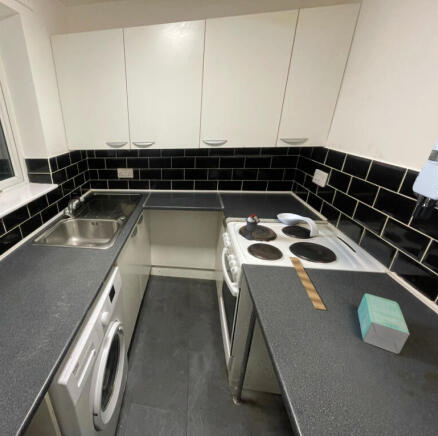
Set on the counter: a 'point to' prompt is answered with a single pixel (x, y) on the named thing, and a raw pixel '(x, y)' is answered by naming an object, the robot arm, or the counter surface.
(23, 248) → the counter surface
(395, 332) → the box
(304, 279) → the strip
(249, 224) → the sundae
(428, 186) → the robot arm
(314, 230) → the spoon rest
